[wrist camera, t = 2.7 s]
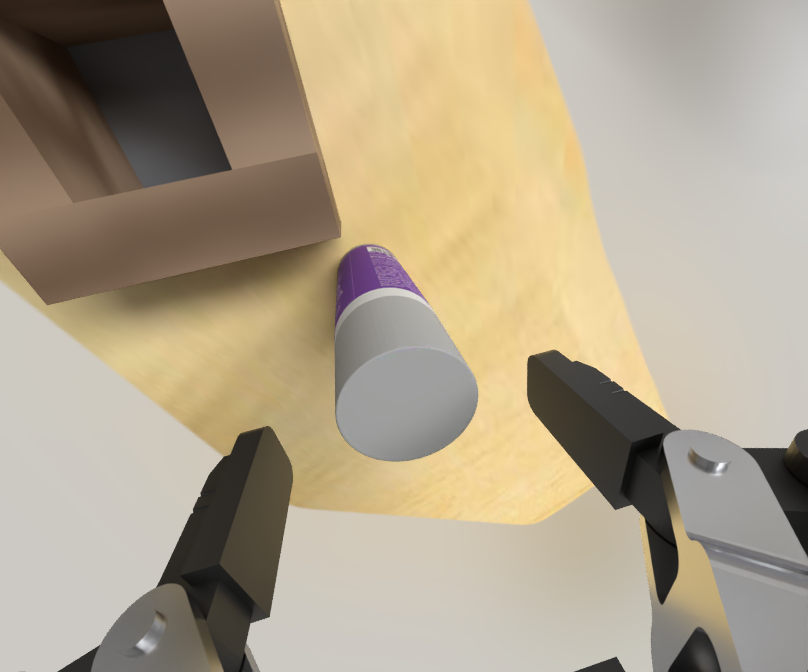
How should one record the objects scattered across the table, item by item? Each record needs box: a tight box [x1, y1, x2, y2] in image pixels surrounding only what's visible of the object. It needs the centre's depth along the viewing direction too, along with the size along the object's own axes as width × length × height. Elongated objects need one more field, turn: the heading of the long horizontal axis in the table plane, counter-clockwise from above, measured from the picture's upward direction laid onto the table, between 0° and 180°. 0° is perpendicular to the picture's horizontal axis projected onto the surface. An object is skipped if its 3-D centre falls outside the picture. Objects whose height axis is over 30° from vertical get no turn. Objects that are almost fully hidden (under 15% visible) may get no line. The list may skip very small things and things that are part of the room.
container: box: [334, 244, 478, 461], centre depth 16 cm, size 5×5×15 cm
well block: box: [0, 0, 341, 305], centre depth 14 cm, size 14×14×6 cm
